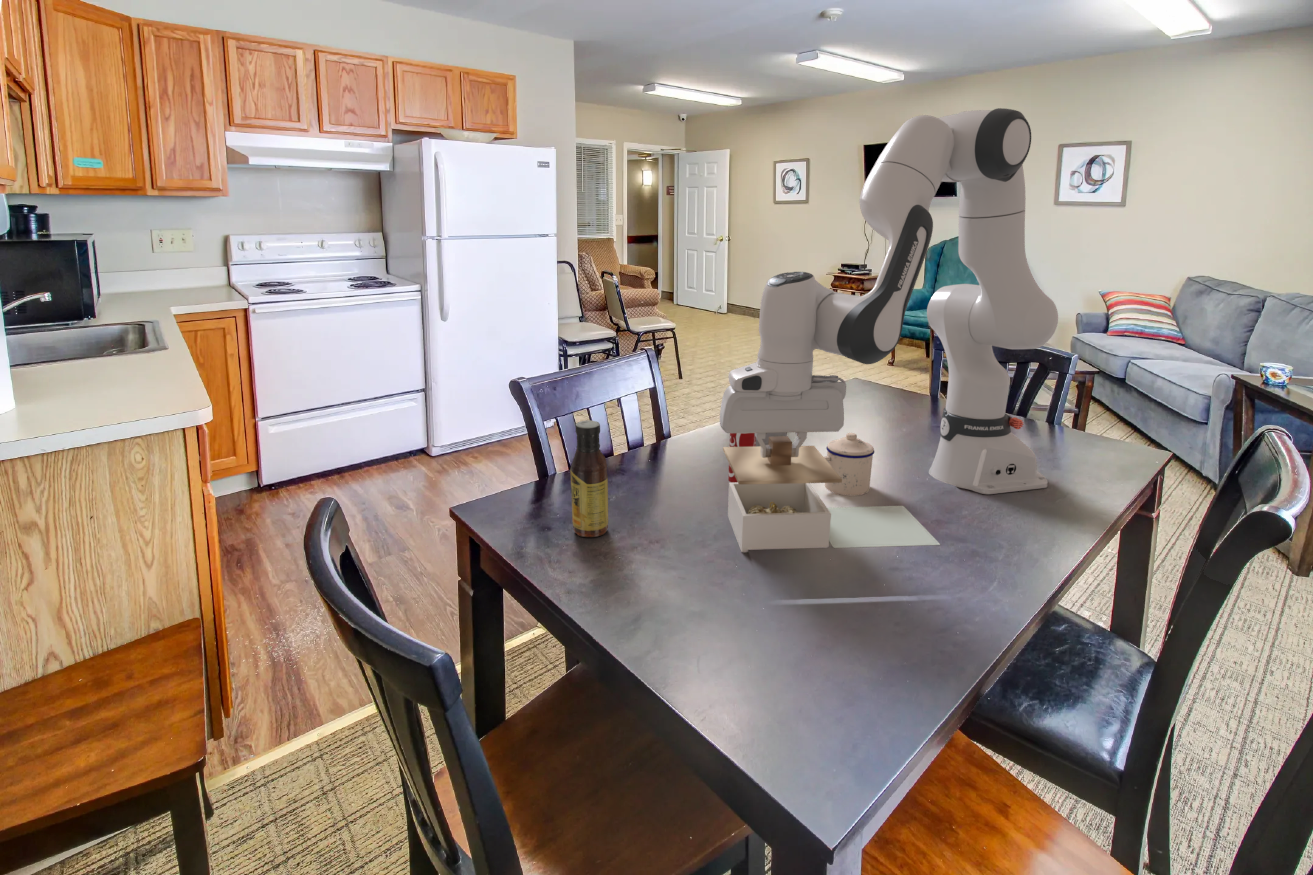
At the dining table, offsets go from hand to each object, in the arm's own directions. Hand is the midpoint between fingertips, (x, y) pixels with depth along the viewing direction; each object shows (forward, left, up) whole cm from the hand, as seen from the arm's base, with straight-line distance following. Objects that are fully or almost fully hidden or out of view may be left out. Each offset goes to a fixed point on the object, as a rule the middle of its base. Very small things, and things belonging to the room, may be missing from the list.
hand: (779, 456), depth 119 cm
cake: (0, -2, -14) cm, 14 cm away
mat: (-17, -1, -14) cm, 22 cm away
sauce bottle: (+32, -2, -14) cm, 35 cm away
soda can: (+2, -23, -14) cm, 27 cm away
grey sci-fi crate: (-6, -39, -14) cm, 42 cm away
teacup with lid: (-17, -18, -14) cm, 29 cm away
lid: (0, 0, -3) cm, 3 cm away
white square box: (0, 0, -14) cm, 14 cm away
